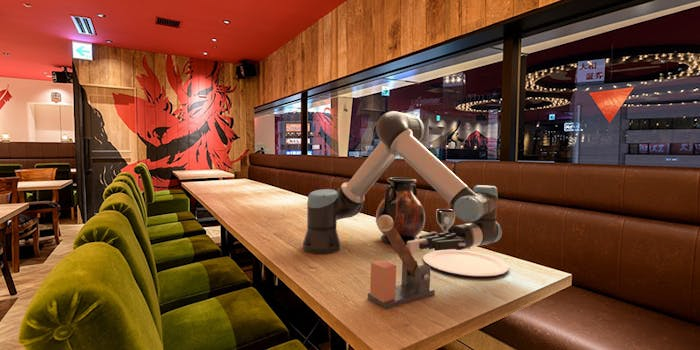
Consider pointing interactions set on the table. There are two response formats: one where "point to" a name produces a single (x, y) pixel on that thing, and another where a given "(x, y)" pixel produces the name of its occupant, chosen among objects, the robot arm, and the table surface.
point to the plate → (465, 263)
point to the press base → (409, 288)
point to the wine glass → (445, 218)
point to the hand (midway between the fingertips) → (408, 246)
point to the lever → (397, 242)
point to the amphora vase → (402, 208)
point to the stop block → (383, 280)
